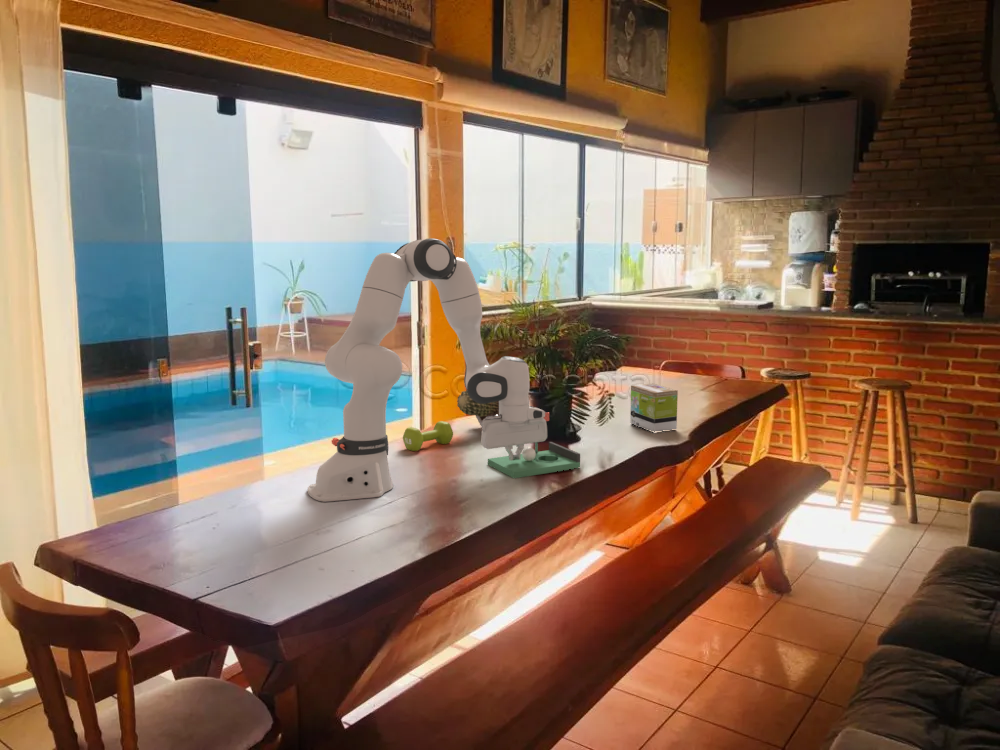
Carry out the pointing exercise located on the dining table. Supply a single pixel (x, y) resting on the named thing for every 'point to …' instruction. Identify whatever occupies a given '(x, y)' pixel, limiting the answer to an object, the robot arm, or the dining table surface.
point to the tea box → (654, 407)
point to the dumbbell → (427, 436)
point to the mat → (538, 462)
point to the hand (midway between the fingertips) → (514, 459)
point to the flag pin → (537, 442)
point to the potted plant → (477, 407)
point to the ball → (529, 454)
